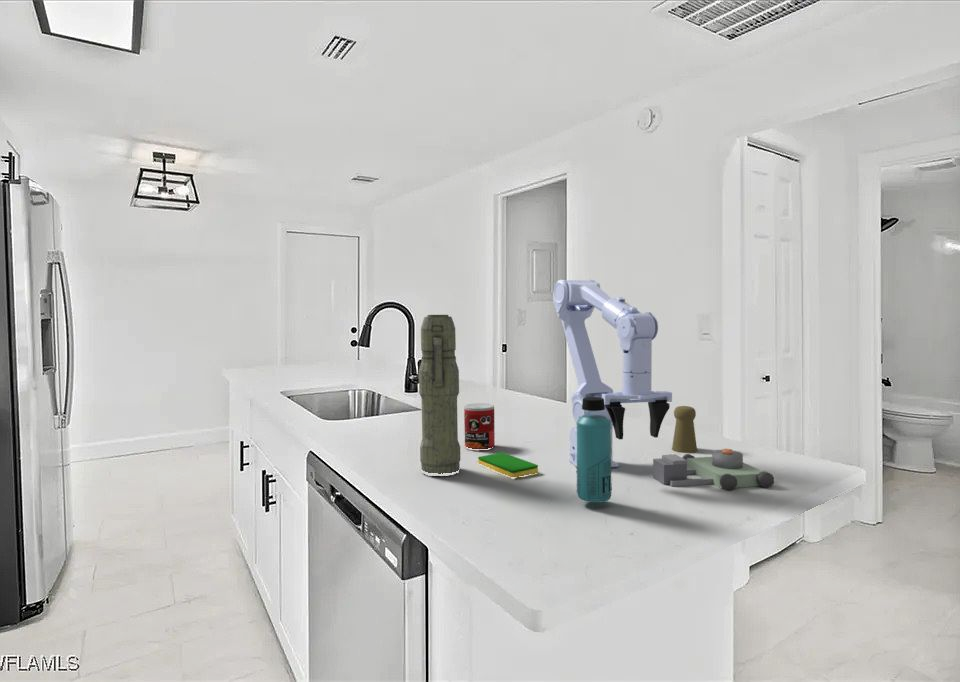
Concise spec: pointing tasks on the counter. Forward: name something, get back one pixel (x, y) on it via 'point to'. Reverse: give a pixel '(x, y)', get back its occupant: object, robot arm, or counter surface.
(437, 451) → the olive green flashlight
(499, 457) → the dish sponge
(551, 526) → the counter surface
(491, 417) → the canned food
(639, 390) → the robot arm
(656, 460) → the grey block on ledge
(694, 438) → the olive brown tapered figure
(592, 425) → the beverage bottle
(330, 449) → the counter surface
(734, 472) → the mower deck
